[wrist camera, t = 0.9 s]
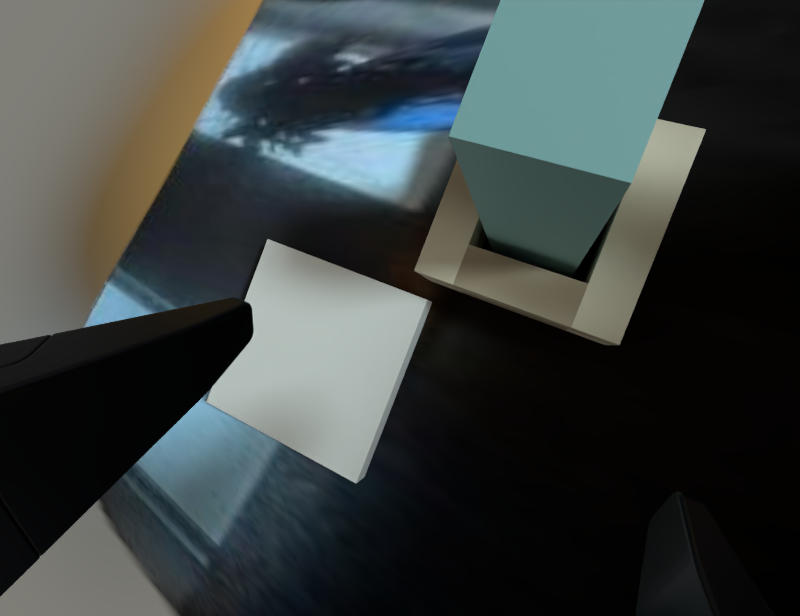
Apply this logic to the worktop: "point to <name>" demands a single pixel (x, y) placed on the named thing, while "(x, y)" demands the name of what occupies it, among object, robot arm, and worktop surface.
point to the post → (564, 118)
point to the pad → (321, 358)
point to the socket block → (611, 265)
